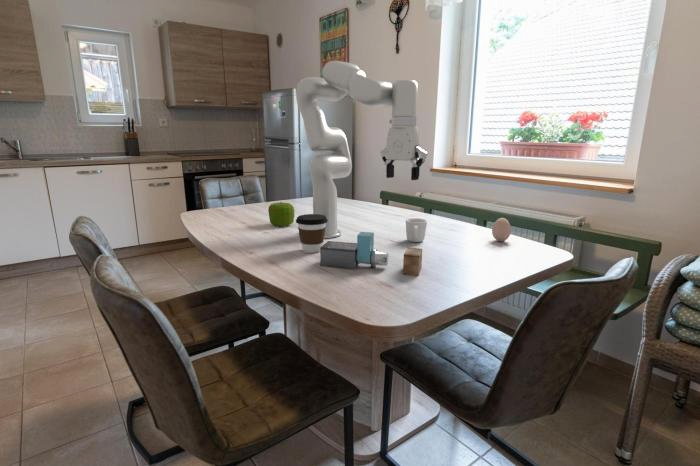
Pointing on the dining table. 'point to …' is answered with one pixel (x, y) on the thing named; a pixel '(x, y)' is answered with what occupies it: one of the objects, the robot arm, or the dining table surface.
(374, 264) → the plug
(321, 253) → the sleeve
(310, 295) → the dining table surface
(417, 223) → the cup
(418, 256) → the cardboard box
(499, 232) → the egg
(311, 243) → the coffee cup
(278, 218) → the apple
